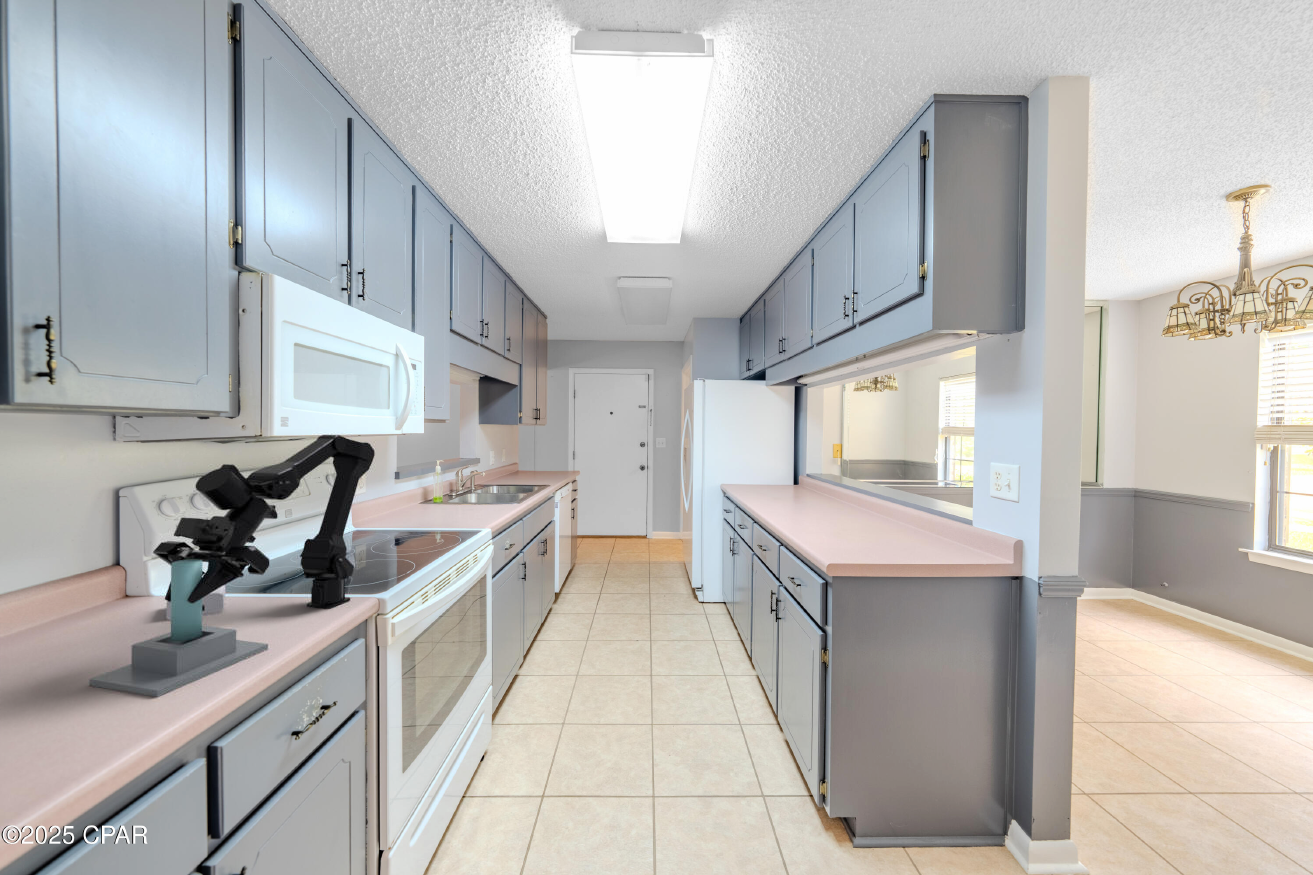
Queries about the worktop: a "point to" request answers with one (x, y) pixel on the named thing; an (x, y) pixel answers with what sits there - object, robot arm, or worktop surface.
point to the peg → (185, 600)
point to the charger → (207, 603)
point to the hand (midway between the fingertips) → (178, 601)
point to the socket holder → (177, 661)
